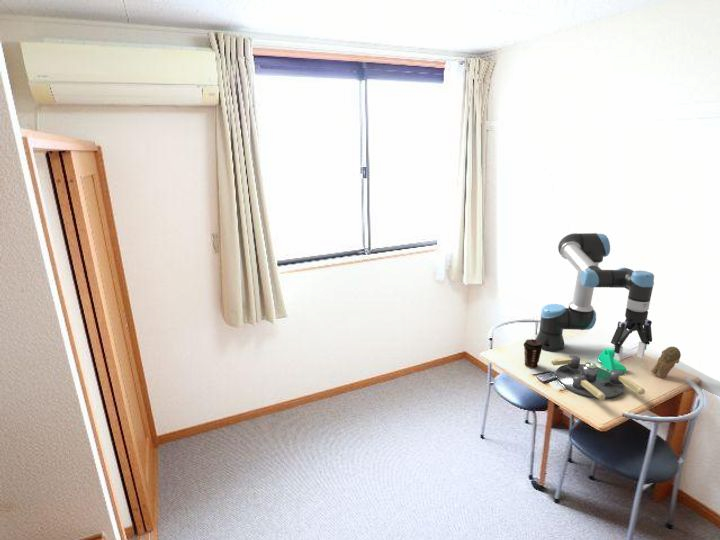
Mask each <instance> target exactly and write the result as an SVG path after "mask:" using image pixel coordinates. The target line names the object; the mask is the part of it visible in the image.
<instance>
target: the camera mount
mask: <svg viewBox="0 0 720 540" xmlns="http://www.w3.org/2000/svg"><path fill="white" fill-rule="evenodd" d="M614 349H615V348H604V349H603V350H602V352H600V354H599V355H598V357H597V358H598V359H599V360H600V361H601V363H602V365H603V366H602V365H601V366H602V367H603V369H604V370H606V371H609V372H611V371H612V370H618V371H621V372H623V373H624V372H627V367H626V365H624V364H622V363H621V361H618V360H616V359H615V358H614V356H615V352H614ZM601 363H600V364H601Z"/></svg>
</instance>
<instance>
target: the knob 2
mask: <svg viewBox="0 0 720 540" xmlns="http://www.w3.org/2000/svg"><path fill="white" fill-rule="evenodd" d="M610 372H611V374H610V382H611V383H613V384H618V385H620V384H622V383H623V384H624V386H625V387H626V386H627V387H628V388H629V389H631V391H634V392H635V393H636V394H638V395H641V396H642V395H645V393H646V390H645V388H644V387H642V386H640V385H639V384H638V383H636V382H634V381H633V380H631V379H630V378H629V377H627V376H625V374H624V372H621V371H618V370H612V371H610Z"/></svg>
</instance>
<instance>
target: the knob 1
mask: <svg viewBox="0 0 720 540" xmlns="http://www.w3.org/2000/svg"><path fill="white" fill-rule="evenodd" d="M573 387H575V388H577V389H584V388H585V389H587V390H588V391H589V392H590V393H592V394H593V395H594V396H595V397H597V398H598V399H597V400H600V401H604V400H606V399H605V394H604V393H602V392H601V391H600V390H598V389H597V388H596V387H594V386H593V385H592V384H590V383H589V382H588V381H586V377H585V376H583V375H579V374H576V375H574V377H573Z"/></svg>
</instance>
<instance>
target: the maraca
mask: <svg viewBox="0 0 720 540" xmlns="http://www.w3.org/2000/svg"><path fill="white" fill-rule="evenodd" d="M551 364H552V365H553V366H563V365H566V364H568V366H569V367H570V368H573V369H578V368H579V365H580V364H581V357H580V356H578V355H571V354H570V355H569V356H568V357H561V358H553V359H551Z"/></svg>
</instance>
